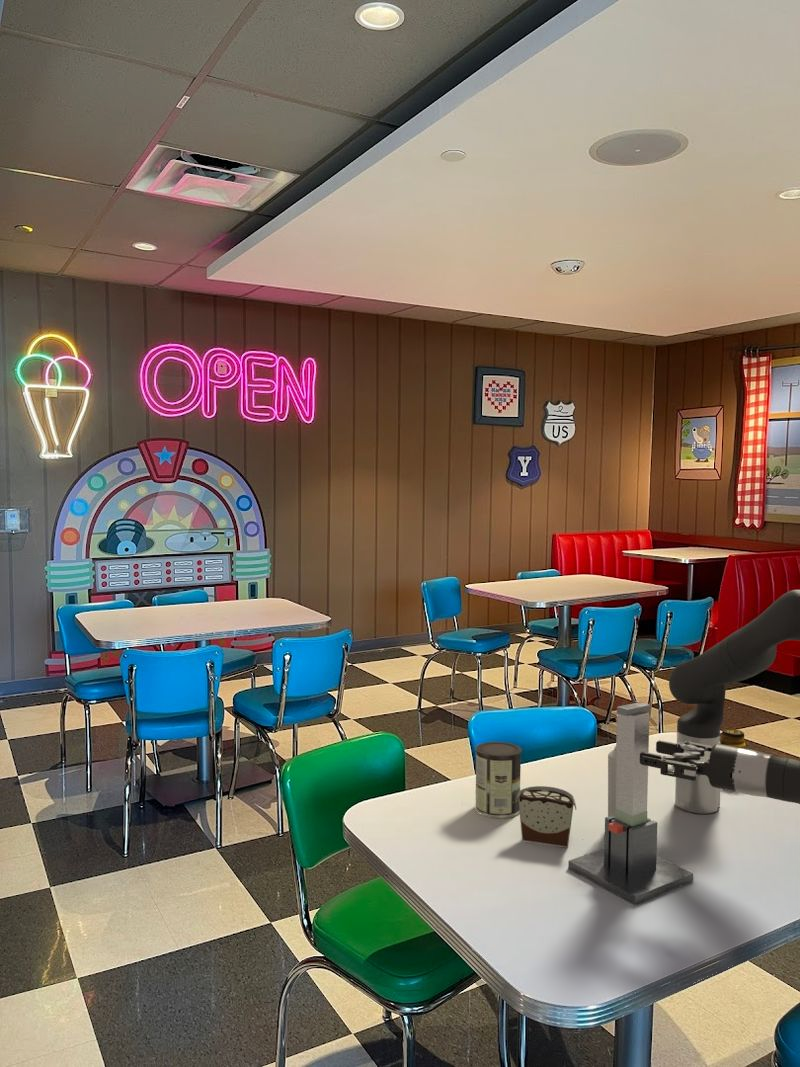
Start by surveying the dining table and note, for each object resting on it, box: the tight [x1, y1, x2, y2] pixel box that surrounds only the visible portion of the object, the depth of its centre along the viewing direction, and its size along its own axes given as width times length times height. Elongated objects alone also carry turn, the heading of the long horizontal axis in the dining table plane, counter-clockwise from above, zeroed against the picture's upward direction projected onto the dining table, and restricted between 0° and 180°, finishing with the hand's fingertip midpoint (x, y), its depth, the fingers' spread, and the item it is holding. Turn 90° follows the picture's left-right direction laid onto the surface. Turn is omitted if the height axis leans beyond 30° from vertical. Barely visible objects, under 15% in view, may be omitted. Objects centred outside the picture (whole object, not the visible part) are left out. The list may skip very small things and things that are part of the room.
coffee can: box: [475, 741, 522, 819], centre depth 179 cm, size 10×10×14 cm
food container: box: [516, 785, 577, 848], centre depth 164 cm, size 12×6×10 cm, turn 71°
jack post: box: [615, 701, 651, 828], centre depth 148 cm, size 6×4×23 cm, turn 123°
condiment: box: [720, 728, 747, 749], centre depth 200 cm, size 7×8×12 cm
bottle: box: [607, 714, 618, 817], centre depth 167 cm, size 5×5×25 cm
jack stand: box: [567, 815, 694, 906], centre depth 149 cm, size 16×16×10 cm
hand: (648, 751), depth 146 cm, fingers open, 8 cm apart
